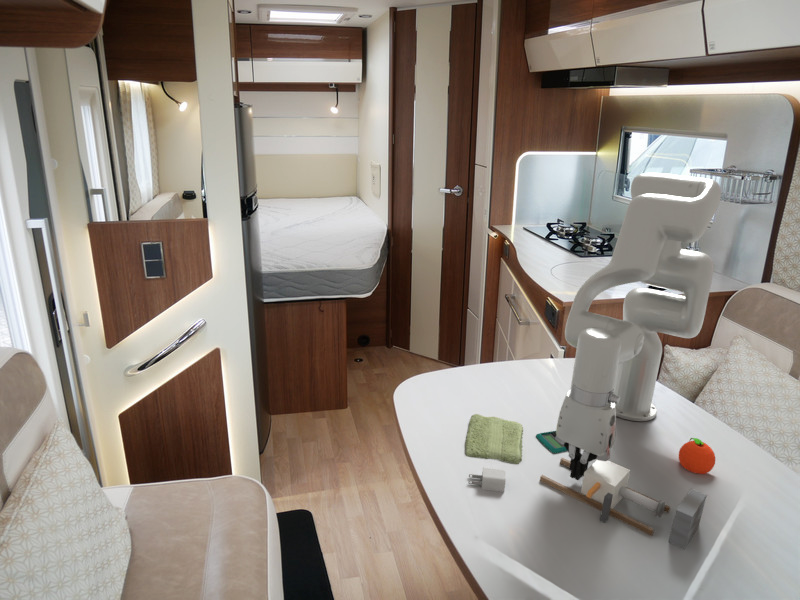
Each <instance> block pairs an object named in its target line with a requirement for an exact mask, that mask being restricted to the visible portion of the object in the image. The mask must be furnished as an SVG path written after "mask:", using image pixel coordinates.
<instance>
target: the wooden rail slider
mask: <svg viewBox="0 0 800 600" xmlns="http://www.w3.org/2000/svg"><path fill="white" fill-rule="evenodd" d="M570 461H571V460H569V459H567V458H564V457H560V462H559V464H561V465H564V466H566V467H567V468H570ZM539 481H540V482H542V483H544V484H546V485H548V486H549V487H552V488H553V489H556V490H558V491H560V492H562V493H564V494H566V495H568V496H571V497H573V499H576V500H579V501H580V502H582V503H584V504H586V505H589V506H590V507H592V508H594V509H596V510H598V511H600V512H602V507H603V504H601V503H599V502H597V501H595V500H593V499H591V498H588V497H587V496H585V495H583V494H581V492H579V491H577V490H574V489H572V488H570V487H568V486H566V485H565V484H564V485H563V484H561V483H560V482H559V481H556V480H554V479H552V478H550V477H547V476H546V475H543V474H542V475H540V478H539ZM627 488H628V489H630V490H632V491H634V492H637V493H639V494H641V495H643V496H645V497H648V498H650V499H652V500H654V501H656V502H660V500H656V499H654V498H652V497H649V496H647V495H645V494H643V493H641V492H639V491H637V490H635V489H633V488H630V487H629V486H627ZM707 496H708V495H707V494H705V493H703V492H700V491H698V490H695V489H694V488H690V489H689V491H688V492H687V494H686V495H685V496H684V498H683V500H682V501H681V502H680V503H679V504H678V506H677V508H676V509H675V513H674V516H673V522H672V526H671V531H670V534H669V538H668V543H670V544H672V545H673V546H675V547H678V548H679V549H682V550H685V549H686V547H687V546H688V544H689V543H690V542H691V540H692V538H693V536H694V535H695V533H696V531H698V529H699V526H700V522H701V519H702V515H703V510H704V507H705V503H706V499H707ZM670 511H671V506H669V505H667V504H665V508H664V511H663V512H665V513H667V514H669V513H670ZM609 517H612V518H614V519H617V520H618V521H621V522H623V523H624V524H627V525H629V526H630V527H633V528H635V529H636V530H639V531H641V532H643V533H645V534H647V535H648V536H651V537H652V536H653V535H654V532H655V528H652V527H650V526H648V525H646V524H644V523H643V522H640V521H638V520H636V519H634V518H632V517H630V516H628V515H626V514H623V513H622V512H619V511H618V510H616V509H614V508H613V509H611V508H610V513H609Z"/></svg>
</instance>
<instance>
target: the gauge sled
mask: <svg viewBox="0 0 800 600" xmlns="http://www.w3.org/2000/svg"><path fill="white" fill-rule="evenodd" d="M630 472H631V469H628V468H626V467H624V466H622V465H620V464H617V463H615V462H612V461H610V460H609V459H608V460H607V461H600V460H597V459H596V461H594V462H593V463H592V465H590V466H588V469H587V470H586V471H585V472H584V476H582V483H581V489H580V490H581V491H580V493H581V494H583V495H585V496H587V497H588V498H591V499H593V500H595V501H597V502H599V503H601V504H603V501H604V496H605V495H606V494H607V493H610V494H613V497H612V502H611V509H613V510H614V508H615V507H616V506H617V505H618V504H619V502H620V501H621V500H622V499H623V498H624V499H626V500H627V501H631V502H632V503H635V504H637V505H638V506H639V505H640V506H641V507H644V508H645V509H647V510H650V511H652V512H655V513H654V515H655V516H656V517H658V518H661V517H662V515H663V513H664V512H665V511H664V508H665V505H666V502H665V501H663V500H659V502H656V501H654V500H655V499H654V500H652V499H653V498H652V499H650V498H651V497H650V498H648V497H649V496H648V497H645V496H643V495H644V494H643V495H641V494H642V493H641V494H639V493H640V492H639V493H637V492H638V491H637V492H634V491H632V490H633V489H632V490H630V489H631V488H630V489H628V488H629V487H628V483H629V478H630V474H631V473H630ZM627 487H628V488H627Z"/></svg>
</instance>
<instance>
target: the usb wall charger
mask: <svg viewBox="0 0 800 600" xmlns="http://www.w3.org/2000/svg"><path fill="white" fill-rule="evenodd" d="M468 478H471V479H480V480H481V481H479V480H468V484H470V485H474V486H481V489H482V490H487V491H488V490H489V491H496V492H501V493H502V492H503V493H504V492H505V488H506V469H501V468H500V469H499V468H493V467H492V468H491V467H482V473H481V474H473V473H472V474H471V473H469V474H468Z"/></svg>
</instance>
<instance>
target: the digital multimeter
mask: <svg viewBox="0 0 800 600" xmlns="http://www.w3.org/2000/svg"><path fill="white" fill-rule="evenodd" d="M535 437H536V439H537V440H538V441H539V442H540V443H541V444H542V445H543V446H544V447H545V448H546V449H548V451H550V452H551V453H553V454H555V455H556V454H559V453H564V452H568V451H567V449H566V448H565V446H564V445H563V444H561V443H560V442H558V441H557V440H556V439H555V437H556V430H553V431H552V430H551V431H547V432H540V433H537V434H536V435H535Z"/></svg>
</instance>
